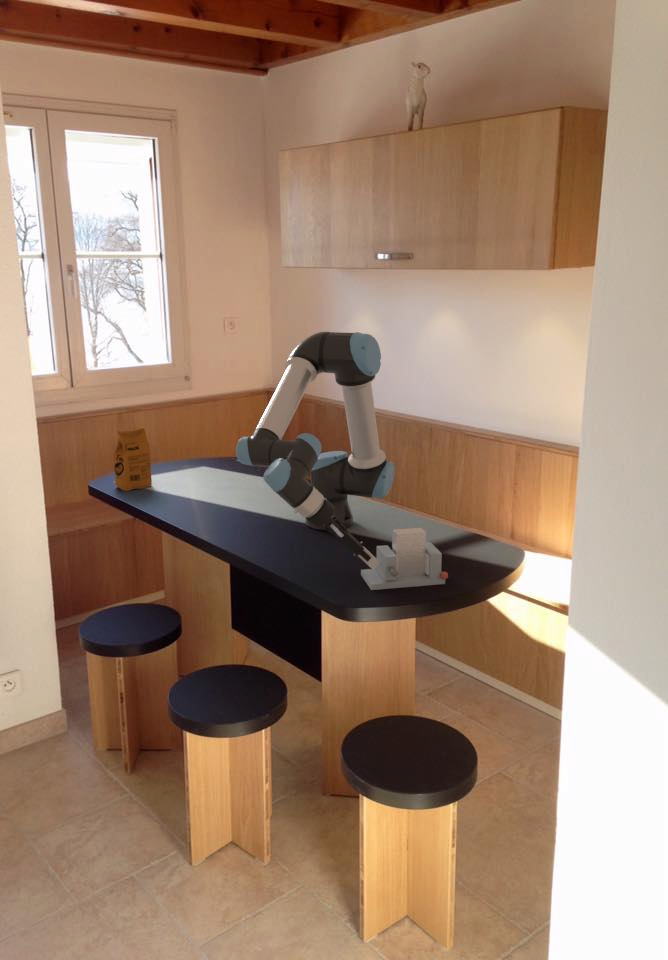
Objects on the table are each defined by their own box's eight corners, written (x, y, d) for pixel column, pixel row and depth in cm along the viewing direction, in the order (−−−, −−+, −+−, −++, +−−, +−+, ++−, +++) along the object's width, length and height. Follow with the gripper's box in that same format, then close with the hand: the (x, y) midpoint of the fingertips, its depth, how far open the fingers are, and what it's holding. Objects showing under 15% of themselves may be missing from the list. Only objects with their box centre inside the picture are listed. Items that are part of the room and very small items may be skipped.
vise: (360, 574, 231) (361, 545, 229) (433, 569, 235) (434, 540, 233) (372, 591, 219) (372, 561, 217) (448, 585, 223) (449, 555, 221)
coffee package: (112, 487, 319) (108, 429, 313) (142, 481, 327) (139, 424, 321) (124, 492, 312) (120, 433, 306) (155, 486, 319) (151, 428, 314)
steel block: (391, 572, 228) (392, 529, 225) (420, 570, 230) (421, 527, 227) (395, 577, 225) (396, 534, 222) (425, 575, 226) (426, 532, 223)
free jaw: (376, 568, 230) (376, 545, 229) (388, 567, 231) (389, 545, 229) (389, 586, 218) (389, 562, 216) (402, 585, 219) (403, 561, 217)
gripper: (299, 511, 224) (360, 567, 231) (308, 525, 211) (372, 584, 219) (319, 490, 223) (380, 547, 231) (329, 504, 211) (393, 564, 219)
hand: (376, 565), depth 225 cm, fingers closed
